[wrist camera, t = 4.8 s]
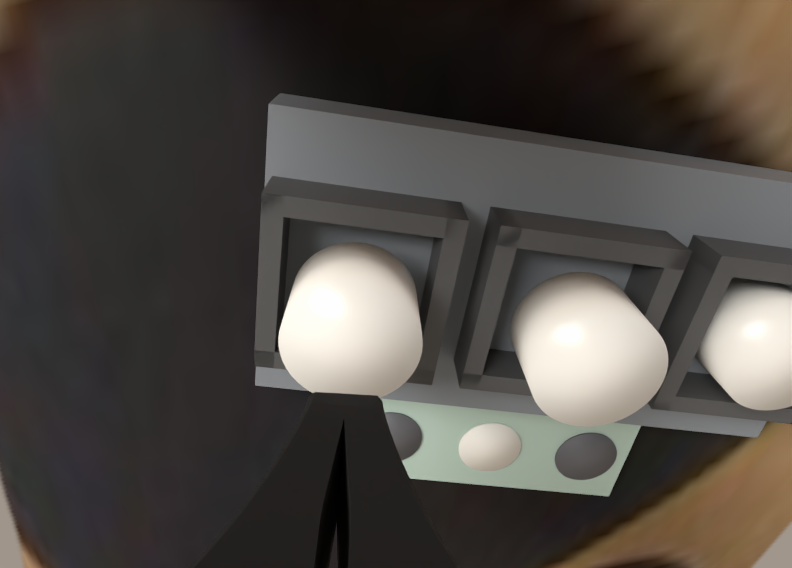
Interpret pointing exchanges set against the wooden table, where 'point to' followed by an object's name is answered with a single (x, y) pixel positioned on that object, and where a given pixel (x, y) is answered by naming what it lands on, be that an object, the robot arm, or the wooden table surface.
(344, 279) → the button near
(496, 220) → the board
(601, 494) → the card
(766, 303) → the button far
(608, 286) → the button middle
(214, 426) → the wooden table surface
